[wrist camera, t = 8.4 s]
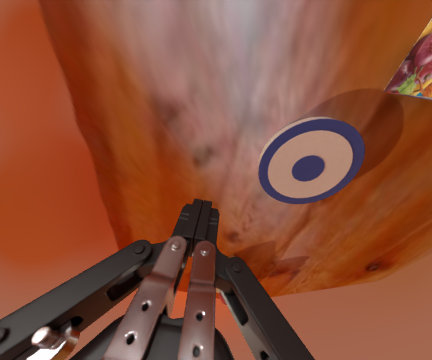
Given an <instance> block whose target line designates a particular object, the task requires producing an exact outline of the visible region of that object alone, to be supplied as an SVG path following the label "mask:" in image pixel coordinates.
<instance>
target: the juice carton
mask: <svg viewBox="0 0 432 360" xmlns="http://www.w3.org/2000/svg"><path fill="white" fill-rule="evenodd" d="M383 92H387V93H393V94H399V95H405V96H410V97H416V98H422V99H428V100H432V19H431V20H430V22H429V23H428V25H427V26H426V28H425V29H424V31H423V32H422V34H421V35H420V37H419V38H418V40H417V41H416V43H415V44H414V46H413V47H412V49H411V50H410V52H409V53H408V55H407V56H406V58H405V59H404V61H403V62H402V64H401V65H400V67H399V68H398V70H397V71H396V73H395V74H394V76H393V77H392V79H391V80H390V82H389V83H388V85H387V86H386V88H385V89H384V91H383Z"/></svg>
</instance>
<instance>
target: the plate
mask: <svg viewBox="0 0 432 360" xmlns="http://www.w3.org/2000/svg"><path fill="white" fill-rule="evenodd" d="M364 154H365V146H364V142H363V139H362V137H361V135H360V134H359V132H358V131H357V130H356V129H355V128H354V127H352V126H351V125H349V124H348V123H345V122H343V121H341V120H338V119H335V118H331V117H311V118H306V119H302V120H299V121H296V122H294V123H292V124H290V125H288V126H286V127H284V128H283V129H282V130H280V131H279V132H277V133H276V134H275V135H274V136H273V137H272V138H271V139H270V140H269V141H268V143H267V144H266V145H265V147H264V148H263V150H262V152H261V154H260V157H259V161H258V176H259V180H260V183H261V186H262V187H263V189H264V190H265V191H266V192H267V193H268V194H269V195H270V196H271V197H273V198H274V199H276V200H279V201H281V202H285V203H290V204H306V203H312V202H316V201H319V200H322V199H325V198H327V197H329V196H331V195H333V194H335V193H337V192H338V191H340V190H341V189H342V188H344V187H345V186H346V185H347V184H348V183H349V182H350V181H351V180H352V179H353V178H354V177H355V175H356V174H357V173H358V171H359V169H360V167H361V165H362V162H363V160H364Z"/></svg>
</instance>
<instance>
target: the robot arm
mask: <svg viewBox="0 0 432 360" xmlns="http://www.w3.org/2000/svg"><path fill="white" fill-rule="evenodd" d="M211 207H212V202H211V201H206V200H204V202H203V200H200V199H194V202H193V205H191V204H186V205H185V206H184V207H183V209H182V211H181V214H180V216H179V219H178V221H177V224H176V226H175V229H174V231H173V234H172V236H171V237H170V238H169V239H168V240H167V241H165V242H162V243H157V244H150V242H149V241H147V240H138V241H135V242H134V243H132V244H130V245H128V246H127V247H125V248H123V249H121V250H120V251H118V252H116V253H115V254H113V255H111V256H109V257H108V258H106V259H104V260H103V261H101V262H99V263H97V264H96V265H94V266H92V267H90V268H89V269H87V270H85V271H83V272H82V273H80V274H78V275H77V276H75V277H73V278H71V279H70V280H68V281H67V282H64V283H63V284H61V285H59V286H58V287H56V288H54V289H52V290H51V291H49V292H47V293H45V294H44V295H42V296H40V297H39V298H37V299H35V300H33V301H32V302H30V303H28V304H26V305H25V306H23V307H21V308H20V309H18V310H16V311H14V312H13V313H11V314H9V315H8V316H6V317H4V318H2V319H1V320H0V360H64V359H65V358H66V357H67V356H68V355H69V354H70V353H71V352H72V351H73V349H74V348H75V346H76V344H77V342H78V340H79V336H80V332H82V331H83V330H84V329H85V328H87V327H88V326H89V325H91V324H92V323H93V322H95V321H96V320H97V319H98V318H100V317H101V316H102V315H104V314H105V313H106V312H107V311H109V310H110V309H111V308H113V306H115V305H116V304H118V303H119V302H120V301H122V300H123V299H124V298H126V297H127V296H128V295H129V294H131V293H132V292H133V291H135V290H136V289H137V288H138V290H137V292H136V294H135V296H134V298H133V300H132V302H131V303H130V305H129V307H128V309H127V311H126V313H125V315H123V316H121V317H119V318H118V319H116V320H115V321H113V322H112V323H111V324H110V325H109V326H107V327H106V328H105V329H104V330H103V331H102V332H101V333H99V335H97V336H96V337H95V338H94V339H93V340H91V341H90V342H89V343H88V344H87V345H86V346H84V347H83V348H82V349H81V350H80V351H79V352H77V353H76V354H75V355H74V356H73V357H72V358H71V359H69V360H234V358H233V355H232V353H231V351H230V348H229V346H228V344H227V342H226V340H225V338H224V337H223V336H222V334H221V333H220V332H219V331H218V330H217V329H216V328H215V299H216V288H218V289H219V290H220V293H221V294H222V296H223V298H224V300H225V302H226V304H227V305H228V308H229V309H230V311H231V313H232V315H233V317H234V319H235V321H236V323H237V324H238V327H239V329H240V330H241V332H242V334H243V336H244V338H245V340H246V342H247V344H248V345H249V348H250V349H251V351H252V353H253V355H254V357H255V359H256V360H315V359H314V358H313V356H312V355H311V354H310V352H309V351H308V349H307V348H306V347H305V345H304V344H303V342H302V341H301V340H300V338H299V337H298V336H297V334H296V333H295V331H294V330H293V329H292V327H291V326H290V325H289V323H288V322H287V320H286V319H285V318H284V316H283V315H282V314H281V312H280V310H279V309H278V308H277V306H276V305H275V303H274V302H273V301H272V299H271V298H270V296H269V295H268V294H267V292H266V291H265V290H264V288H263V287H262V285H261V284H260V283H259V281H258V280H257V278H256V277H255V276H254V274H253V273H252V271H251V270H250V269H249V267H248V266H247V264H246V263H245V262H244V261H243V260H242V259H241V258H239V257H231V258H229V257H227V256H225V255H224V254H222V253H221V252H220V251H219V250H218V248H217V245H216V240H217V232H218V223H219V215H220V214H219V212H218V209H214V208H211ZM192 253H193V256H192ZM188 256H190V257H193V263H192V269H191V276H190V282H189V287H188V293H187V300H186V307H185V312H184V318H177V319H171V318H170V315H171V312H172V308H173V304H174V300H175V296H176V294H177V291H178V288H179V285H180V282H181V279H182V276H183V273H184V270H185V266H186V263H187V260H188Z"/></svg>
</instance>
